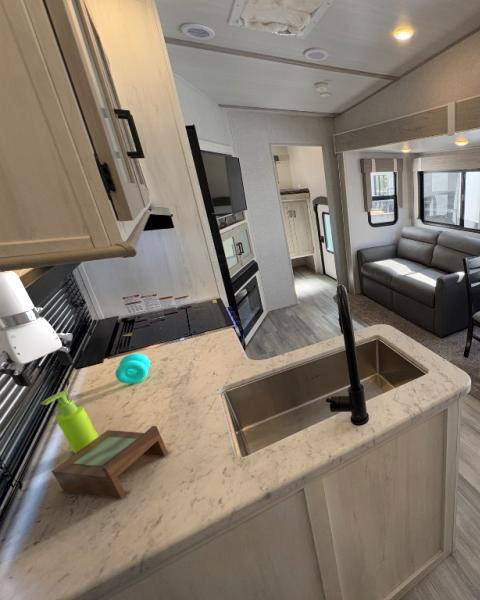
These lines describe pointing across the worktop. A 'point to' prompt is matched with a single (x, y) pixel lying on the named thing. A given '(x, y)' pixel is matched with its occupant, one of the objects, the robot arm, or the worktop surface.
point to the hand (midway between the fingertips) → (48, 374)
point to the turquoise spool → (132, 368)
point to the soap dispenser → (73, 422)
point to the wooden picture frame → (107, 462)
